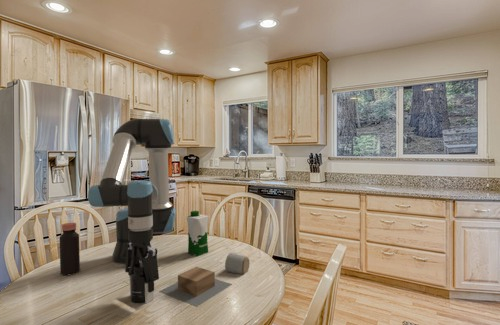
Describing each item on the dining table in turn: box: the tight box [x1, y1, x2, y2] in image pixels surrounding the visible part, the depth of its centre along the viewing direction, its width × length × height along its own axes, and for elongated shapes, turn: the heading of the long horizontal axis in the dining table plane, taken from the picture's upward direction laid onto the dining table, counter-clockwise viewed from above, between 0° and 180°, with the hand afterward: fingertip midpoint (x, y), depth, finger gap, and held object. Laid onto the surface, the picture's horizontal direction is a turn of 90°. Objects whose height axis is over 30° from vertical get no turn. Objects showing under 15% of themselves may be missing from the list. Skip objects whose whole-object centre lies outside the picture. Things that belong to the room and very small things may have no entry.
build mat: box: [158, 278, 233, 307], centre depth 100 cm, size 18×18×1 cm
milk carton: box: [186, 210, 210, 257], centre depth 138 cm, size 9×9×20 cm
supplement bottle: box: [129, 262, 146, 304], centre depth 93 cm, size 7×7×12 cm
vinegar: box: [59, 222, 81, 276], centre depth 116 cm, size 7×7×20 cm
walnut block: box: [177, 266, 216, 296], centre depth 100 cm, size 9×9×5 cm
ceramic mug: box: [224, 252, 250, 275], centre depth 116 cm, size 11×8×8 cm
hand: (141, 297), depth 93 cm, fingers open, 7 cm apart
